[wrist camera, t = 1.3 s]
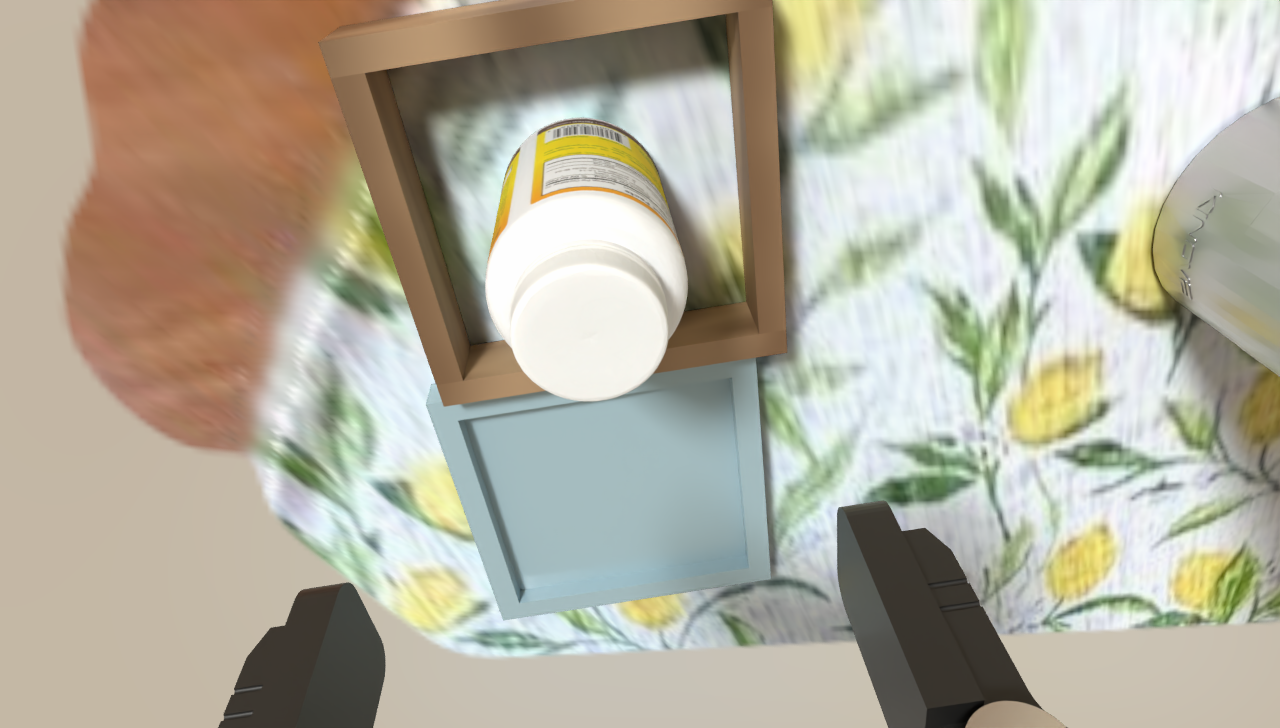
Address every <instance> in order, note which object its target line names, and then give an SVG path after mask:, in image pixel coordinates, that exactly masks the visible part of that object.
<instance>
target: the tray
mask: <svg viewBox="0 0 1280 728" xmlns="http://www.w3.org/2000/svg"><path fill="white" fill-rule="evenodd" d="M426 406H427V409H428V412H429V414H430V417H431V420H432V423H433V426H434V428H435V431H436V434H437V437H438V439H439V442H440V445H441V448H442V451H443V453H444V456H445V459H446V462H447V465H448V467H449V470H450V473H451V476H452V478H453V481H454V484H455V487H456V490H457V492H458V495H459V498H460V501H461V504H462V506H463V509H464V512H465V515H466V517H467V520H468V523H469V526H470V529H471V531H472V534H473V537H474V540H475V543H476V545H477V548H478V551H479V554H480V556H481V559H482V562H483V565H484V568H485V570H486V573H487V576H488V579H489V582H490V584H491V587H492V590H493V593H494V595H495V598H496V601H497V604H498V607H499V609H500V612H501V615H502V618H503V620H509V619H516V618H522V617H529V616H535V615H542V614H548V613H555V612H561V611H568V610H574V609H581V608H587V607H593V606H600V605H606V604H613V603H619V602H626V601H632V600H639V599H645V598H652V597H658V596H665V595H671V594H678V593H684V592H691V591H697V590H704V589H710V588H717V587H723V586H730V585H736V584H743V583H749V582H756V581H762V580H769V579H771V571H770V557H769V542H768V528H767V513H766V498H765V484H764V469H763V455H762V440H761V425H760V411H759V396H758V382H757V367H756V358H750V359H744V360H738V361H731V362H725V363H719V364H712V365H706V366H700V367H693V368H687V369H680V370H674V371H668V372H661V373H655V374H652V375H651V376H650V377H649V378H648V379H647V380H646V381H645V382H644V383H642V384H641V385H640V386H639V387H637V388H635V389H634V390H632V391H630V392H628V393H626V394H623V395H621V396H618V397H616V398H612V399H608V400H602V401H575V400H570V399H565V398H562V397H559V396H556V395H554V394H552V393H550V392H548V391H541V392H535V393H528V394H522V395H516V396H509V397H503V398H497V399H490V400H484V401H478V402H471V403H465V404H459V405H452V406H446V407H444V406H443V403H442V400H441V397H440V394H439V391H438V388H437V386H436V384H431V387H430V391H429V395H428V399H427V402H426Z"/></svg>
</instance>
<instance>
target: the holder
mask: <svg viewBox="0 0 1280 728" xmlns="http://www.w3.org/2000/svg"><path fill="white" fill-rule="evenodd" d="M722 14H725V18H726V31H727V45H728V59H729V72H730V86H731V100H732V113H733V127H734V141H735V154H736V168H737V182H738V196H739V209H740V223H741V237H742V250H743V264H744V278H745V291H746V302H742V303H735V304H729V305H723V306H716V307H710V308H704V309H698V310H691V311H685V312H683V315H682V317H681V320H680V322H679V324H678V326H677V328H676V330H675V332H674V333H673V335H672V336H671V337H670V339H669V340H668V344H667V348H666V352H665V354H664V357H663V359H662V361H661V362H660V364H659V366H658V367H657V369H656V370H655V372H654V373H653V374H655V373H661V372H668V371H674V370H680V369H687V368H693V367H700V366H706V365H712V364H719V363H725V362H731V361H738V360H744V359H750V358H757V357H763V356H769V355H776V354H782V353H787V337H786V314H785V290H784V266H783V242H782V218H781V195H780V171H779V147H778V123H777V100H776V76H775V52H774V28H773V4H772V0H499V1H493V2H487V3H481V4H475V5H469V6H463V7H457V8H451V9H445V10H439V11H432V12H426V13H420V14H414V15H408V16H402V17H396V18H390V19H384V20H378V21H372V22H366V23H359V24H353V25H347V26H341V27H339V28H338V29H336V30H335V31H333V32H332V33H331V34H329V35H328V36H327V37H325V38H324V39H322V40H321V41H320V42H318V43H319V46H320V49H321V51H322V54H323V57H324V60H325V63H326V66H327V69H328V72H329V75H330V78H331V81H332V83H333V86H334V89H335V92H336V95H337V98H338V101H339V104H340V107H341V110H342V112H343V115H344V118H345V121H346V124H347V127H348V130H349V133H350V136H351V139H352V142H353V144H354V147H355V150H356V153H357V156H358V159H359V162H360V165H361V168H362V171H363V173H364V176H365V179H366V182H367V185H368V188H369V191H370V194H371V197H372V200H373V203H374V205H375V208H376V211H377V214H378V217H379V220H380V223H381V226H382V229H383V232H384V234H385V237H386V240H387V243H388V246H389V249H390V252H391V255H392V258H393V261H394V264H395V266H396V269H397V272H398V275H399V278H400V281H401V284H402V287H403V290H404V293H405V295H406V298H407V301H408V304H409V307H410V310H411V313H412V316H413V319H414V322H415V325H416V327H417V330H418V333H419V336H420V339H421V342H422V345H423V348H424V351H425V354H426V357H427V359H428V362H429V365H430V368H431V371H432V374H433V377H434V380H435V383H436V386H437V388H438V391H439V394H440V397H441V400H442V403H443V406H444V407H446V406H452V405H459V404H465V403H471V402H478V401H484V400H490V399H497V398H503V397H509V396H516V395H522V394H528V393H535V392H541V391H546V390H544V389H542V388H541V387H540V386H538V385H537V384H536V383H534V382H533V381H532V380H531V379H530V378H529V377H528V376H527V375H526V374H525V373H524V372H523V370H522V369H521V367H520V366H519V364H518V362H517V360H516V358H515V356H514V353H513V350H512V348H511V347H510V346H509V345H508V344H507V342H506V341H505V340H502V341H496V342H490V343H483V344H477V345H471V346H470V343H469V339H468V336H467V333H466V329H465V326H464V323H463V320H462V316H461V313H460V310H459V306H458V303H457V300H456V297H455V293H454V290H453V287H452V283H451V280H450V277H449V274H448V270H447V267H446V264H445V261H444V257H443V254H442V251H441V247H440V244H439V241H438V238H437V234H436V231H435V228H434V224H433V221H432V218H431V215H430V211H429V208H428V205H427V201H426V198H425V195H424V192H423V188H422V185H421V182H420V178H419V175H418V172H417V169H416V165H415V162H414V159H413V155H412V152H411V149H410V146H409V142H408V139H407V136H406V132H405V129H404V126H403V123H402V119H401V116H400V113H399V110H398V106H397V103H396V100H395V96H394V93H393V90H392V87H391V83H390V80H389V77H388V73H387V70H386V69H392V68H398V67H404V66H410V65H417V64H423V63H429V62H435V61H441V60H447V59H453V58H459V57H466V56H472V55H478V54H484V53H490V52H496V51H502V50H508V49H514V48H521V47H527V46H533V45H539V44H545V43H551V42H557V41H563V40H570V39H576V38H582V37H588V36H594V35H600V34H606V33H612V32H618V31H625V30H631V29H637V28H643V27H649V26H655V25H661V24H667V23H674V22H680V21H686V20H692V19H698V18H704V17H710V16H716V15H722Z"/></svg>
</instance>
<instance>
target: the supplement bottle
mask: <svg viewBox="0 0 1280 728" xmlns="http://www.w3.org/2000/svg"><path fill="white" fill-rule="evenodd" d="M485 290H486V299H487V305H488V309H489V312H490V315H491V318H492V320H493V322H494V324H495V326H496V328H497V330H498V332H499V333H500V334H501V336H502V337H503V339H504V340H505V341H506V342H507V344H508V345H509V346H510V347H511V348H512V350H513V353H514V356H515V358H516V360H517V362H518V364H519V366H520V367H521V369H522V370H523V372H524V373H525V374H526V375H527V376H528V377H529V378H530V379H531V380H532V381H533V382H534V383H536V384H537V385H538V386H540V387H541V388H542V389H544V390H546V391H548V392H550V393H552V394H554V395H556V396H559V397H562V398H565V399H570V400H575V401H602V400H608V399H612V398H616V397H618V396H621V395H623V394H626V393H628V392H630V391H632V390H634V389H635V388H637V387H639V386H640V385H641V384H642V383H644V382H645V381H646V380H647V379H648V378H649V377H650V376H651V375H652V374H653V373H654V372H655V370H656V369H657V367H658V366H659V364H660V362H661V361H662V359H663V357H664V354H665V352H666V348H667V344H668V340H669V339H670V337H671V336H672V335H673V333H674V332H675V330H676V328H677V326H678V324H679V322H680V320H681V317H682V315H683V312H684V309H685V305H686V300H687V293H688V277H687V270H686V265H685V260H684V256H683V253H682V250H681V246H680V243H679V241H678V237H677V234H676V231H675V228H674V224H673V221H672V217H671V214H670V211H669V207H668V204H667V201H666V198H665V195H664V191H663V188H662V184H661V181H660V178H659V174H658V171H657V169H656V166H655V165H654V163H653V161H652V159H651V157H650V155H649V154H648V152H647V151H646V150H645V148H644V147H643V146H642V145H641V144H640V143H639V142H638V141H637V140H636V139H635V138H634V137H633V136H632V135H630V134H629V133H628V132H626V131H625V130H623V129H622V128H620V127H618V126H616V125H614V124H611V123H608V122H606V121H602V120H598V119H592V118H571V119H564V120H560V121H557V122H554V123H551V124H549V125H547V126H544V127H543V128H541V129H539V130H538V131H536V132H535V133H533V134H532V135H531V136H529V137H528V138H527V139H526V140H525V141H524V142H523V143H522V144H521V145H520V147H519V148H518V149H517V151H516V152H515V154H514V155H513V157H512V159H511V161H510V163H509V165H508V168H507V171H506V174H505V178H504V182H503V187H502V192H501V198H500V204H499V208H498V212H497V218H496V223H495V228H494V233H493V238H492V243H491V248H490V253H489V258H488V264H487V271H486V282H485Z"/></svg>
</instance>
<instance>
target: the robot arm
mask: <svg viewBox="0 0 1280 728" xmlns="http://www.w3.org/2000/svg"><path fill="white" fill-rule="evenodd" d="M1153 257H1154V265H1155V271H1156V273H1157V275H1158V278H1159V280H1160V282H1161V284H1162V287H1163V288H1164V289H1165V290H1166V291H1167V292H1168V293H1169V294H1170V295H1171V296H1172V297H1173V299H1174V300H1176V301H1177V302H1178V303H1180V304H1181V305H1183V306H1184V307H1185V308H1187V309H1188V310H1189V311H1191V312H1192V313H1194V314H1195V315H1196V316H1198V317H1199V318H1200V319H1202V320H1203V321H1205V322H1206V323H1207V324H1209V325H1210V326H1211V327H1213V328H1214V329H1216V330H1217V331H1218V332H1220V333H1221V334H1222V335H1224V336H1225V337H1226V338H1228V339H1229V340H1231V341H1232V342H1233V343H1235V344H1236V345H1237V346H1239V347H1240V348H1241V349H1242V350H1244V351H1245V352H1246V353H1248V354H1249V355H1250V356H1252V357H1253V358H1255V359H1256V360H1257V361H1259V362H1260V363H1261V364H1263V365H1264V366H1266V367H1267V368H1268V369H1270V370H1271V371H1272V372H1274V373H1275V374H1277V375H1278V376H1279V377H1280V97H1279V98H1276V99H1273V100H1271V101H1269V102H1267V103H1266V104H1264V105H1262V106H1260V107H1258V108H1256V109H1254V110H1252V111H1251V112H1249V113H1247V114H1245V115H1244V116H1242V117H1241V118H1240V119H1238V120H1237V121H1235V122H1234V123H1233V124H1231V125H1230V126H1229V127H1227V128H1226V129H1225V130H1223V131H1222V132H1220V133H1219V134H1218V135H1217V136H1216V137H1215V138H1214V139H1213V140H1212V141H1211V142H1210V143H1209V144H1208V145H1207V146H1206V147H1205V148H1204V149H1203V150H1201V151H1200V152H1199V153H1198V154H1197V155H1196V157H1195V158H1194V159H1193V160H1192V162H1191V163H1190V164H1189V166H1188V167H1187V168H1186V169H1185V171H1184V172H1183V173H1182V174H1181V176H1180V177H1179V178H1178V180H1177V181H1176V183H1175V185H1174V187H1173V189H1172V190H1171V192H1170V194H1169V196H1168V198H1167V199H1166V201H1165V203H1164V205H1163V208H1162V211H1161V214H1160V217H1159V219H1158V222H1157V225H1156V228H1155V236H1154V244H1153ZM837 570H838V580H839V587H840V592H841V596H842V600H843V604H844V607H845V610H846V613H847V615H848V618H849V621H850V624H851V626H852V629H853V632H854V635H855V637H856V640H857V643H858V646H859V648H860V651H861V654H862V657H863V659H864V662H865V665H866V667H867V670H868V673H869V676H870V678H871V681H872V684H873V687H874V689H875V692H876V695H877V698H878V700H879V703H880V706H881V708H882V711H883V714H884V717H885V720H886V722H887V725H888V728H1067V727H1065V726H1064V724H1062V723H1061V722H1060V721H1059V720H1057V719H1056V718H1055V717H1054V716H1052V715H1051V714H1049V713H1047V712H1046V711H1044V710H1043V709H1042V708H1041V707H1040V706H1039V704H1038V703H1037V702H1036V701H1035V700H1034V698H1033V697H1032V695H1031V694H1030V692H1029V691H1028V689H1027V687H1026V685H1025V683H1024V682H1023V680H1022V678H1021V676H1020V674H1019V672H1018V671H1017V669H1016V667H1015V665H1014V663H1013V662H1012V660H1011V658H1010V656H1009V654H1008V653H1007V651H1006V649H1005V647H1004V645H1003V643H1002V642H1001V640H1000V638H999V636H998V634H997V632H996V631H995V629H994V627H993V625H992V623H991V622H990V620H989V618H988V616H987V614H986V612H985V611H984V609H983V607H981V606H980V604H979V600H978V598H977V596H976V594H975V592H974V591H973V589H972V587H971V585H970V583H969V584H968V583H967V579H966V576H965V574H964V572H963V571H962V569H961V567H960V565H959V563H958V561H957V560H956V558H955V556H954V554H953V552H952V551H951V549H949V548H948V547H947V546H946V545H945V544H943V543H942V542H941V541H940V540H939V539H938V538H936V537H935V536H934V535H933V534H932V533H930V532H929V531H928V530H927V529H926V528H921V529H915V530H908V531H901V529H900V526H899V524H898V522H897V520H896V518H895V516H894V514H893V512H892V510H891V508H890V506H889V505H888V503H887V502H886V501H877V502H871V503H864V504H858V505H851V506H845V507H839V508H838V512H837ZM384 677H385V653H384V647H383V643H382V640H381V638H380V636H379V634H378V632H377V630H376V628H375V626H374V624H373V622H372V620H371V618H370V616H369V614H368V612H367V610H366V608H365V606H364V604H363V602H362V600H361V598H360V596H359V594H358V592H357V590H356V589H355V587H354V586H353V585H352V584H351V583H341V584H335V585H329V586H322V587H316V588H309V589H304V590H302V591H300V592H299V593H298V595H297V596H296V598H295V601H294V603H293V606H292V609H291V611H290V614H289V617H288V619H287V622H286V625H285V626H280V627H273V628H270V629H269V631H268V632H267V633H266V634H265V636H264V637H263V638H262V640H261V641H260V642H259V643H258V644H257V645H256V647H255V648H254V649H253V650H252V652H251V653H250V654H249V655H248V657H247V658H246V661H245V663H244V666H243V668H242V671H241V673H240V675H239V678H238V680H237V683H236V685H235V688H234V690H235V694H234V695H231V698H230V700H229V703H228V705H227V707H226V710H225V713H224V721H221V723H220V725H219V727H218V728H373V725H374V721H375V717H376V712H377V708H378V704H379V699H380V695H381V691H382V686H383V682H384Z"/></svg>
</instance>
